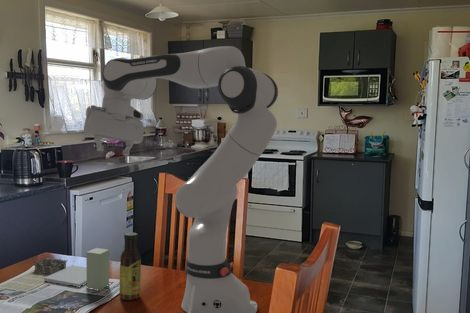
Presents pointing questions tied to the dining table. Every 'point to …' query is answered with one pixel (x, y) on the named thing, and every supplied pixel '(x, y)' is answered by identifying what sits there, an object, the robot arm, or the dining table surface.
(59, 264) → the mossy rock
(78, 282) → the tile
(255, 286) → the dining table surface
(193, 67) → the robot arm
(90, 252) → the sage block
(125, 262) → the sauce bottle
